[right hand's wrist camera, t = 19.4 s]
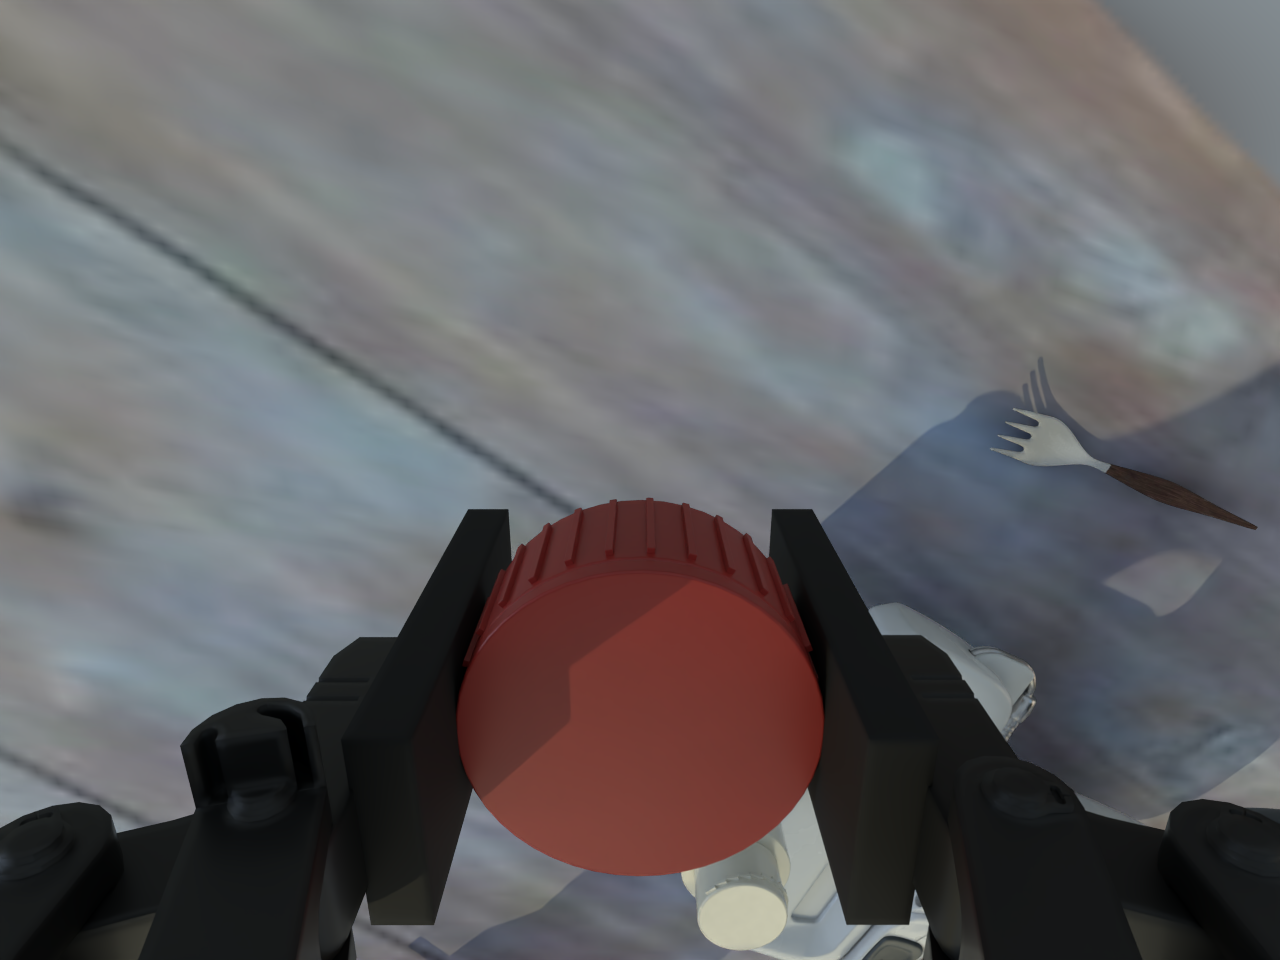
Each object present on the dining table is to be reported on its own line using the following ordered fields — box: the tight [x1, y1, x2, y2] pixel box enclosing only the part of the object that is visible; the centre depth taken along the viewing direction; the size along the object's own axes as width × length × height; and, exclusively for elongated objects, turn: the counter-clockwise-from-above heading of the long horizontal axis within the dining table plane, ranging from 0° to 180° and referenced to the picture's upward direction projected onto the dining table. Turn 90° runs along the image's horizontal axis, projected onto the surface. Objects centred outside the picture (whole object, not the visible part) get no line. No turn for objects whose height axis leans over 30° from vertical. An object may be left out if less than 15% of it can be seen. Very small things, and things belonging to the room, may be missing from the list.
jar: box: [681, 823, 791, 950], centre depth 36 cm, size 4×4×16 cm
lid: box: [456, 498, 825, 876], centre depth 11 cm, size 5×5×2 cm
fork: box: [990, 408, 1258, 530], centre depth 38 cm, size 3×16×2 cm, turn 68°
